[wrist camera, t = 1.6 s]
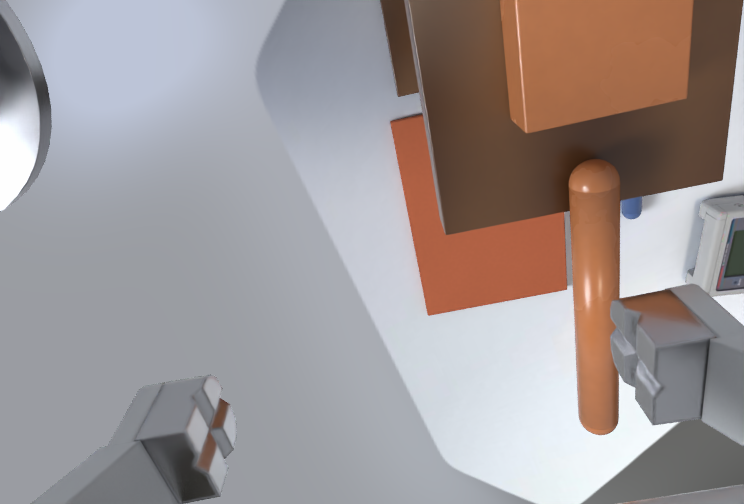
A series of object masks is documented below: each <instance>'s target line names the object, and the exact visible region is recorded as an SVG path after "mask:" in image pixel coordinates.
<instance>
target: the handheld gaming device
mask: <svg viewBox="0 0 744 504" xmlns="http://www.w3.org/2000/svg"><path fill="white" fill-rule="evenodd" d="M699 216H700V217H701V218H702V219H704V220H705V221H704V226H703V230H702V235H701V240H700V245H699V250H698V255H697V260H696V265H695V269H689V270H688V271H687V276H686V281H685V282H686V284H691V283H693V284H696V285H698V286H700V287H701V288H702V289H703V290H704V291H705V292H706V293H707V294H709V295H710V296H711V297H713V296H723V295H732V294H741V293H744V195H740V196H731V197H722V198H714V199H708V200H704V201H702V202H701V205H700V210H699Z"/></svg>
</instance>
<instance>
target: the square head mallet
mask: <svg viewBox="0 0 744 504" xmlns="http://www.w3.org/2000/svg"><path fill="white" fill-rule="evenodd" d="M693 4H694V0H500V10H501V21H502V31H503V42H504V53H505V64H506V74H507V85H508V96H509V107H510V117H511V120H512V121H513V122H514V123H515V124H516V125H517V126H518V127H519V128H521V129H522V130H523V131H524V132H525V133H532V132H537V131H542V130H546V129H551V128H555V127H560V126H564V125H569V124H573V123H578V122H583V121H587V120H592V119H596V118H601V117H605V116H610V115H615V114H619V113H624V112H628V111H633V110H637V109H642V108H646V107H651V106H656V105H660V104H665V103H669V102H674V101H678V100H683V99H686V98H687V94H688V79H689V64H690V49H691V34H692V19H693ZM569 203H570V227H571V250H572V274H573V297H574V320H575V344H576V367H577V391H578V414H579V419H580V422H581V424H582V425H583V427H584V428H585V429H586V430H588V431H589V432H591V433H593V434H596V435H605V434H608V433H610V432H612V431H613V430H614V429H615V428H616V426H617V424H618V418H619V372H618V370H617V368H616V366H615V364H614V360H613V356H612V352H611V341H610V335H611V334H612V333H613V331H614V330H615V329H616V327H617V326H616V325H615V324H614V322H613V321H612V319H611V318H610V306H611V302H612V300H615V299H619V284H620V176H619V174H618V171H617V170H616V168H615V167H614V166H613V165H612V164H611V163H609V162H607V161H605V160H601V159H590V160H587V161H584V162H582V163H580V164H579V165H578V166H577V167H576V168H575V169H574V170H573V171H572V173H571V175H570V178H569Z"/></svg>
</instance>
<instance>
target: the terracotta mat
mask: <svg viewBox="0 0 744 504" xmlns="http://www.w3.org/2000/svg"><path fill="white" fill-rule="evenodd" d="M390 123H391V128H392V133H393V138H394V144H395V149H396V154H397V159H398V164H399V169H400V174H401V179H402V185H403V190H404V195H405V200H406V205H407V210H408V215H409V220H410V226H411V231H412V236H413V241H414V246H415V251H416V256H417V262H418V267H419V272H420V277H421V282H422V287H423V292H424V297H425V303H426V308H427V313H428V315H434V314H440V313H445V312H450V311H456V310H461V309H466V308H472V307H477V306H482V305H488V304H493V303H498V302H504V301H509V300H514V299H520V298H525V297H530V296H536V295H541V294H546V293H552V292H557V291H562V290H567V274H566V248H565V223H564V212H561V213H556V214H551V215H546V216H541V217H536V218H531V219H526V220H521V221H516V222H511V223H506V224H501V225H496V226H491V227H486V228H481V229H476V230H471V231H466V232H461V233H456V234H450V235H446V234H445V232H444V229H443V226H442V223H441V220H440V216H439V210H438V204H437V198H436V192H435V186H434V179H433V173H432V167H431V161H430V155H429V149H428V143H427V137H426V131H425V125H424V119H423V114H421V115H416V116H412V117H407V118H403V119H398V120H393V121H390Z"/></svg>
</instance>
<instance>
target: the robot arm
mask: <svg viewBox="0 0 744 504" xmlns="http://www.w3.org/2000/svg"><path fill="white" fill-rule="evenodd" d="M610 318H611V319H612V321H613V322H614V324H615V325H616V326H617V327H616V329H615V330H614V331H613V333H612V334H611V335H610V341H611V352H612V356H613V360H614V364H615V366H616V368H617V370H618V372H619V374H620V376H621V377H622V379H623V381H624V382H625V383H627V384H629V385H631V386H633V387H635V388H636V389H635V399H636V401H637V402H638V404H639V405H640V407H641V408H642V410H643V411H644V413H645V414H646V416H647V417H648V419H649V420H650V422H651V423H652V425H659V424H666V423H673V422H680V421H687V420H695V419H702V421H703V422H704V423H706V424H708V425H709V426H711V427H712V428H714V429H716V430H718V431H719V432H721V433H722V434H724V435H726V436H727V437H729V438H730V439H732V440H734V441H735V442H737V443H739V444H740V445H742V446H744V326H743V325H742V324H741V323H740V322H739V321H738V320H737V319H735V318H734V317H733V316H732V315H731V314H730V313H729V312H728V311H727V310H725V309H724V308H723V307H722V306H721V305H720V304H719V303H718V302H716V301H715V300H714V299H713V298H712V297H711V296H710V295H709V294H707V293H706V292H705V291H704V290H703V289H702V288H701V287H700V286H698V285H696V284H693V283H691V284H686V285H682V286H677V287H672V288H667V289H665V290H662V291H657V292H652V293H646V294H641V295H636V296H631V297H625V298H620V299H615V300H612V302H611V306H610ZM221 392H222V387H221V385H220V383H219V381H218V379H217V377H215V376H213V375H206V376H200V377H194V378H187V379H181V380H175V381H169V382H166V383H158V384H153V385H147V386H144V387H142V388H141V389H139V391H138V393H137V394H136V396H135V398H134V399H133V401H132V403H131V405H130V407H129V409H128V410H127V412H126V414H125V416H124V417H123V419H122V421H121V423H120V425H119V426H118V428H117V430H116V432H115V434H114V435H113V437H112V439H111V441H110V442H109V444H108V446H105V447H100V448H99V449H98V450H97V451H95V452H94V453H93V454H92V455H90V456H89V457H88V458H87V459H85V460H84V461H83V462H82V463H80V464H79V465H78V466H77V467H76V468H74V469H73V470H72V471H71V472H69V473H68V474H67V475H66V476H65V477H63V478H62V479H61V480H59V481H58V482H57V483H56V484H55V485H54V486H52V487H51V488H50V489H49V490H47V491H46V492H45V493H44V494H42V495H41V496H40V497H39V498H37V499H36V500H35V501H34V502H32V503H31V504H183V503H189V502H194V501H199V500H204V499H210V498H215V497H220V496H221V492H222V489H223V485H224V482H225V478H226V475H227V471H228V466H227V464H226V462H225V460H224V459H225V458H226V457H227V456H228V455H229V454H230V453H231V452H232V451H233V450H234V446H235V442H236V420H235V416H234V412H233V410H232V408H231V406H230V404H228V403H227V402H225V401H224V400H222V399H220V395H221ZM619 504H744V484H743V485H736V486H730V487H723V488H716V489H710V490H704V491H698V492H690V493H684V494H677V495H671V496H664V497H658V498H651V499H645V500H638V501H632V502H625V503H619Z"/></svg>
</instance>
